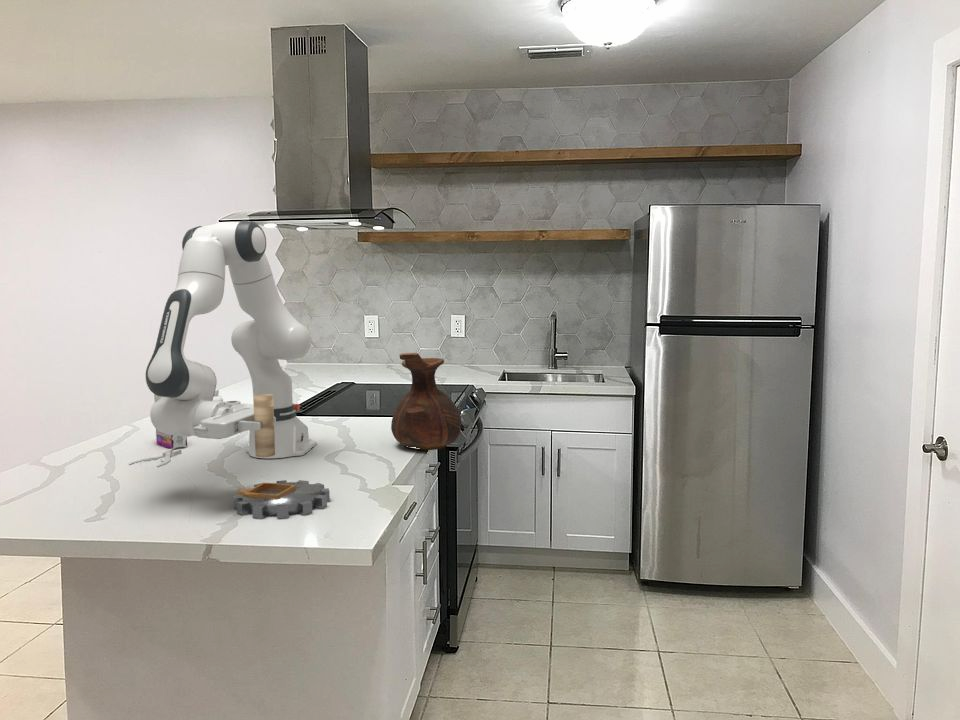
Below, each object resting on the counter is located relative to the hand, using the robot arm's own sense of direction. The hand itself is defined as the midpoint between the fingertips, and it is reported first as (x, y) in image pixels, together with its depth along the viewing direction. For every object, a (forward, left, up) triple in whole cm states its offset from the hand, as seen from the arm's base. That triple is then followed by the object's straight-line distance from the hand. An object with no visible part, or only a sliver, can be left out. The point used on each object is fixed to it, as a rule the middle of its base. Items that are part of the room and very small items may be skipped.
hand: (267, 423), depth 179 cm
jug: (-62, +17, -19) cm, 67 cm away
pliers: (-28, -51, -20) cm, 61 cm away
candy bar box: (-42, -58, -19) cm, 74 cm away
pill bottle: (-61, -57, -19) cm, 86 cm away
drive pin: (0, -1, -7) cm, 8 cm away
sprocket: (0, +3, -19) cm, 19 cm away
